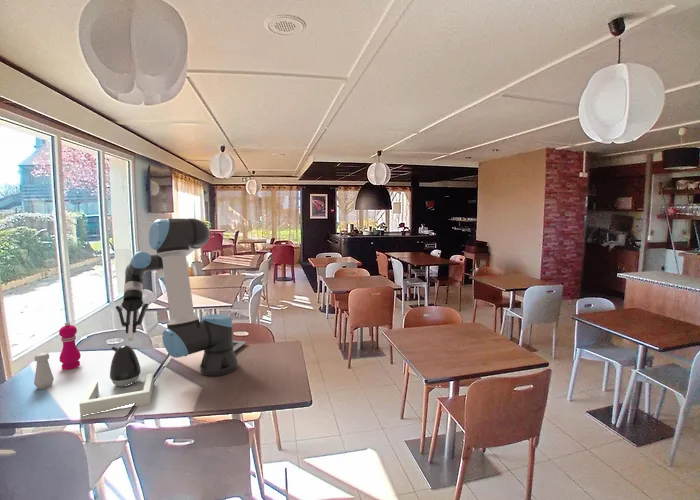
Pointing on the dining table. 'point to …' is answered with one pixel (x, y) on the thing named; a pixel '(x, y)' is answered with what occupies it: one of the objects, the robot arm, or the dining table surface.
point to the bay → (115, 398)
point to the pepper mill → (69, 347)
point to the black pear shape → (124, 366)
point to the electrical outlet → (238, 344)
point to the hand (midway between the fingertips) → (130, 339)
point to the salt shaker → (43, 372)
